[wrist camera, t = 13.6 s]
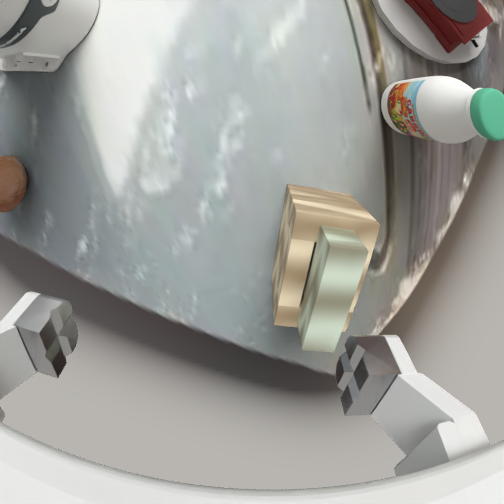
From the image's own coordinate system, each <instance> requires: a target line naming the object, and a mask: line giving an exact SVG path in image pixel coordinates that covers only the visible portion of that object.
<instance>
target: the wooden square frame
mask: <svg viewBox="0 0 504 504" xmlns="http://www.w3.org/2000/svg"><path fill="white" fill-rule="evenodd" d="M320 225H323V226H330V227H337V228H343V229H349V230H354V231H355V232H356V234H357V235H358V237H359V238H360V239H361V241H362V242H363V244H364V245H365V247H366V248H367V250H368V251H369V252H368V255H367V259H366V262H365V265H364V268H363V271H362V275H361V278H360V281H359V284H358V287H357V290H356V293H355V296H354V299H353V302H352V305H351V307H350V310H349V313H348V316H347V319H346V321H345V324H344V327H343V329H342V331H346V329H347V326H348V324H349V321H350V318H351V315H352V313H353V310H354V307H355V304H356V302H357V299H358V296H359V293H360V290H361V287H362V284H363V281H364V278H365V275H366V272H367V269H368V265H369V262H370V259H371V256H372V252H373V249H374V246H375V242H376V239H377V235H378V232H379V228H380V224H379V223H378V222H377V221H376V220H375V219H374V218H373V217H372V216H371V215H370V214H369V213H368V212H367V210H366V209H365V208H364V207H363V206H362V205H361V204H360V203H359V202H358V201H357V200H356V199H355V198H354V197H353V196H352V195H350V194H345V193H339V192H334V191H328V190H322V189H316V188H310V187H303V186H297V185H290V184H287V190H286V196H285V202H284V208H283V214H282V220H281V226H280V232H279V238H278V244H277V249H276V255H275V261H274V267H273V272H272V286H273V312H274V325H278V326H288V327H298V322H297V321H298V317H299V313H300V309H301V305H302V301H303V289H304V285H305V281H306V277H307V273H308V269H309V264H310V260H311V256H312V251H313V247H314V242H317V239H318V234H319V230H320Z"/></svg>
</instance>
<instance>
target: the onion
mask: <svg viewBox="0 0 504 504" xmlns="http://www.w3.org/2000/svg"><path fill="white" fill-rule="evenodd" d="M17 158H18V157H16V156H13V155H11V156H1V157H0V212H8V211H11V210H12V209H14V208H15V207H16V206H17V205H18V204H19V203H20V202H21V201H22V199H23V197H24V194H25V191H26V189H27V188H26V186H27V187H28V176H27V174H26V172H25V169H24V167H23V164H22V163H20V162H19V161H18V159H17Z"/></svg>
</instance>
